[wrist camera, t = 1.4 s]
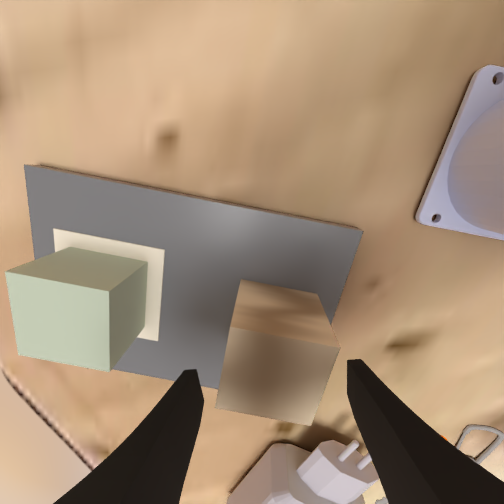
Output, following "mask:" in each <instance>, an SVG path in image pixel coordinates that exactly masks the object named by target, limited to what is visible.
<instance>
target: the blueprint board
mask: <svg viewBox="0 0 504 504" xmlns="http://www.w3.org/2000/svg"><path fill="white" fill-rule="evenodd" d="M24 170H25V179H26V187H27V196H28V205H29V213H30V222H31V231H32V240H33V248H34V257H35V260H36V259H39V258H42V257H44V256H47V255H49V254H52V253H55V252H57V251H60V250H63V249H65V248H68V247H74V248H80V249H85V250H90V251H95V252H100V253H105V254H111V255H116V256H121V257H126V258H131V259H136V260H142V261H147V262H148V271H147V291H146V311H145V327H144V329H143V330H142V331H141V332H140V334H139V335H138V336H137V338H136V339H135V340H134V341H133V343H132V344H131V345H130V347H129V348H128V349H127V350H126V352H125V353H124V354H123V356H122V357H121V358H120V359H119V361H118V362H117V363H116V365H115V366H114V367H113V368H112V369H114V370H119V371H125V372H130V373H135V374H140V375H146V376H151V377H156V378H162V379H167V380H172V381H176V380H177V378H178V377H179V376H180V375H181V373H182V372H183V371H184V370H188V369H197V373H198V377H199V381H200V385H201V386H204V387H209V388H215V389H219V383H220V378H221V373H222V367H223V362H224V357H225V351H226V346H227V341H228V335H229V330H230V325H231V320H232V316H233V312H234V307H235V303H236V298H237V294H238V290H239V285H240V281H241V279H243V280H248V281H254V282H259V283H264V284H269V285H274V286H279V287H285V288H290V289H295V290H300V291H305V292H310V293H316V294H318V297H319V299H320V301H321V304H322V306H323V308H324V311H325V313H326V315H327V318H328V320H329V322H330V325H331V323H332V320H333V317H334V314H335V311H336V308H337V306H338V303H339V300H340V297H341V294H342V291H343V288H344V285H345V283H346V280H347V277H348V274H349V271H350V268H351V265H352V262H353V260H354V257H355V254H356V251H357V248H358V245H359V242H360V239H361V237H362V234H363V231H362V230H360V229H359V228H357V227H351V226H346V225H341V224H336V223H331V222H326V221H321V220H316V219H311V218H306V217H301V216H296V215H290V214H285V213H280V212H275V211H270V210H265V209H260V208H255V207H250V206H245V205H240V204H235V203H229V202H224V201H219V200H214V199H209V198H204V197H199V196H194V195H189V194H184V193H179V192H174V191H168V190H163V189H158V188H153V187H148V186H143V185H138V184H133V183H128V182H123V181H118V180H113V179H107V178H102V177H97V176H92V175H87V174H82V173H77V172H72V171H67V170H62V169H57V168H52V167H47V166H41V165H24Z"/></svg>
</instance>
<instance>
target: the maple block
mask: <svg viewBox="0 0 504 504" xmlns="http://www.w3.org/2000/svg"><path fill="white" fill-rule="evenodd" d="M339 350H340V346H339V343H338V341H337V339H336V336H335V334H334V332H333V329H332V327H331V325H330V322H329V320H328V318H327V315H326V313H325V311H324V308H323V306H322V304H321V301H320V299H319V297H318V294H316V293H310V292H305V291H300V290H295V289H290V288H285V287H279V286H274V285H269V284H264V283H259V282H254V281H248V280H243V279H241V281H240V285H239V290H238V294H237V298H236V303H235V307H234V312H233V316H232V320H231V325H230V330H229V335H228V341H227V346H226V351H225V357H224V362H223V367H222V373H221V378H220V383H219V389H218V394H217V399H216V405H215V408H217V409H223V410H228V411H233V412H239V413H244V414H249V415H255V416H260V417H265V418H271V419H276V420H281V421H287V422H292V423H297V424H303V425H308V426H311V424H312V422H313V419H314V416H315V414H316V411H317V408H318V406H319V403H320V401H321V398H322V395H323V393H324V390H325V387H326V385H327V382H328V379H329V377H330V374H331V371H332V369H333V366H334V363H335V361H336V358H337V355H338V353H339Z"/></svg>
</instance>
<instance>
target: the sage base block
mask: <svg viewBox="0 0 504 504" xmlns="http://www.w3.org/2000/svg"><path fill="white" fill-rule="evenodd" d="M147 271H148V262H147V261H142V260H136V259H131V258H126V257H121V256H116V255H111V254H105V253H100V252H95V251H90V250H85V249H80V248H74V247H68V248H65V249H63V250H60V251H57V252H55V253H52V254H49V255H47V256H44V257H42V258H39V259H36V260H34V261H31V262H29V263H26V264H23V265H21V266H18V267H15V268H13V269H10V270H8V271H5V275H6V281H7V287H8V293H9V299H10V306H11V312H12V318H13V324H14V330H15V337H16V343H17V349H18V355H22V356H27V357H32V358H37V359H43V360H48V361H53V362H59V363H64V364H69V365H74V366H80V367H85V368H90V369H96V370H101V371H106V372H110V371H111V370H112V368H113V367H114V366H115V365H116V363H117V362H118V361H119V359H120V358H121V357H122V356H123V354H124V353H125V352H126V350H127V349H128V348H129V347H130V345H131V344H132V343H133V341H134V340H135V339H136V338H137V336H138V335H139V334H140V332H141V331H142V330H143V329H144V327H145V311H146V291H147Z"/></svg>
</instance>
